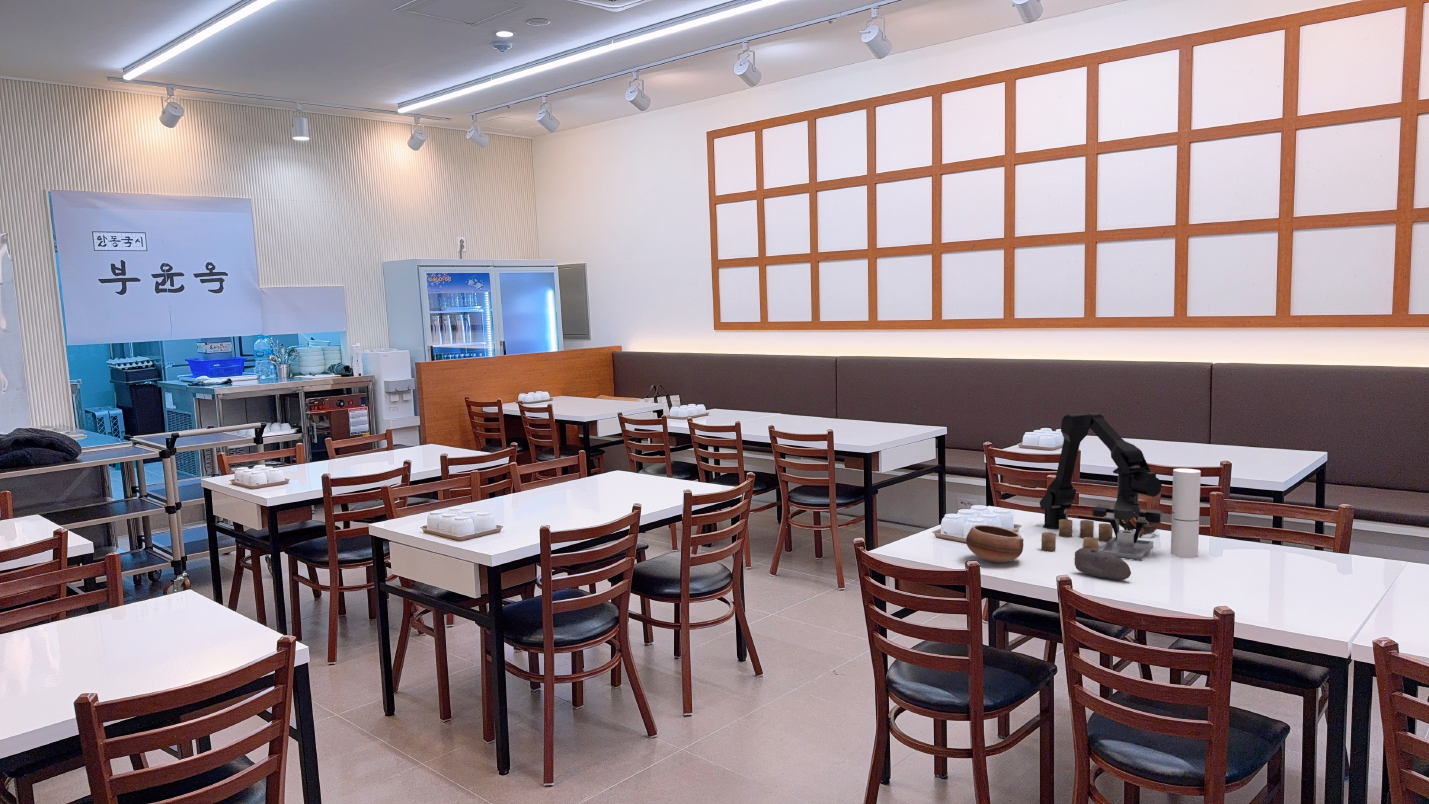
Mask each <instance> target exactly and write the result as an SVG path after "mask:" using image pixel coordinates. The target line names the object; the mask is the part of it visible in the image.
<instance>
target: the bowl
mask: <svg viewBox="0 0 1429 804" xmlns="http://www.w3.org/2000/svg"><path fill="white" fill-rule="evenodd" d="M965 540H966V541H965V543H966V547H967V548H968V549H969V551H970V552H971V553H973V554H974V555H976V557H979V558H981V559H983V560H985V561H987V562H990V563H996V562H999V563H998V564H1000V562H1002V563H1006V562H1007V563H1008V562H1011V561H1014V560H1016V559H1017V558H1019V557H1020V556H1021V555H1022V554H1023V551H1024V538H1023V537H1022V536H1021V534H1019V533H1018V532H1015V531H1014V530H1011V529H1009V528H1006V527H1005V528H1004V527H1002V526H996V525H995V526H994V525H987V524H976V525H973V526H972V527H971V528H970V529H969V531H968V532H967V535H966V538H965Z"/></svg>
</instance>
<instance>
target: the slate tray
mask: <svg viewBox="0 0 1429 804" xmlns="http://www.w3.org/2000/svg"><path fill="white" fill-rule="evenodd" d="M1154 543H1155V542H1154V541H1152V540H1144V539H1143V540H1142V539H1138V540H1137V542H1136V545H1135V546H1134V548H1130V547H1121V546H1117V539H1116V536H1112V538H1111V539H1110V540H1109V541H1108V542H1105V544H1104V545H1103V546H1102V547H1101V548H1100V549H1098V551H1099V552H1104V553H1107V554H1110V555H1113V556H1116V557H1118V558H1120V559H1121V558H1125V559H1124V560H1129V559H1133V560H1132V561H1137V560H1138V561H1139V562H1142V561H1143V560H1144V559H1145V557H1146V556H1147V555H1148V554H1149V553H1150V551H1151V550H1152V549H1153V547H1154ZM1151 548H1152V549H1151ZM1150 549H1151V550H1150ZM1147 553H1148V554H1147ZM1143 558H1144V559H1143ZM1142 559H1143V560H1142Z"/></svg>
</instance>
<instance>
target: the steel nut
mask: <svg viewBox="0 0 1429 804" xmlns="http://www.w3.org/2000/svg"><path fill="white" fill-rule="evenodd" d="M1134 537H1135V530H1130V531H1127V530H1124V529H1119V532H1118V533H1117V546H1121V547H1130V548H1134V546H1135V545H1136V543H1134Z"/></svg>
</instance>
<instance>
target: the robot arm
mask: <svg viewBox="0 0 1429 804" xmlns="http://www.w3.org/2000/svg"><path fill="white" fill-rule="evenodd" d="M1090 430H1091V431H1092V432H1093V433H1094V434H1095V435H1096V437H1097V438H1099V440H1100V441H1101V442H1102V443H1103V444H1104V445H1105V446H1106V448H1108V450H1109V451H1110V458H1111V459H1112V461H1113V463H1114V464H1115V466H1116V468H1115V469H1114V470H1112V473H1113V474H1116V475H1117V494H1116V500H1115V503H1114V507H1113V508H1111V506H1110V505H1109V504H1099V503H1098V504H1097V505H1095V506H1093V508H1092V512H1091V513H1092V515H1091V516H1092V517H1094V518H1095V517H1097V518H1104V521H1107V522H1109V524H1111V525H1112V528H1113V533H1114V537H1116V539H1117V533H1118V532H1119V531H1120V525H1119V519H1126V520H1131V519H1132V517H1137V518H1138V521H1137V522H1136V529H1134V531H1135V537H1134V543H1136V542H1137V540H1139V538H1140V537H1139V535H1140V532H1141V530H1142V528H1143V526H1144V525H1148V524H1149V523H1152V524H1154V523H1157V524H1161V522H1162V521H1163V520H1164V512H1163V510H1160V509H1147V511H1141V504H1140V503H1139V495H1144V496H1148V497H1154V498H1155V497H1156V496H1158V495H1159V494H1160V493H1161V492H1162V487H1163V485H1162V481H1161V480H1160V479H1159V478H1158V477H1157V473H1156V472H1151V468H1150V466H1149V464H1148V462H1147V460H1146V459H1145V458H1146V457H1145V456H1144V453H1143V451H1142V450H1141V449H1140V448H1139V447H1137V446H1136V445H1135V444H1133V443H1131V442H1128V441H1126V440H1125V439H1124V438H1122V437H1121V435H1120V434H1119V433H1118V432H1117V431H1116V430H1115V429H1114V428H1113V427H1112V426H1111V425H1110V423H1108V422H1107V420H1106V419H1105V417H1104V415H1103V414H1101V413H1096V412H1095V413H1087V414H1085V413H1078V414H1077V413H1075V414H1066V415H1064V416H1063V417H1062V419H1061V425H1060V432H1061V435H1062V437H1063V443H1062V447H1061V452H1060V456H1059V460H1058V464H1057V465H1058V466H1057V470H1056V474H1055V478H1054V480H1053V481H1051V482H1050V484H1049V485H1048V487H1047V488H1046V489H1047V490H1046V493H1045V494H1044V496H1042V498H1041V499H1040V501H1039V507H1040V509H1042V510H1044V524H1043V525H1042V528H1046V529H1048V528H1049V529H1056V530H1059V520H1060V519H1069V514H1068V513H1067V510H1070V509H1071V508H1072V505H1073V501H1075V499H1076V493H1077V489H1076V488H1074V485H1073V483H1072V479H1073V475H1074V470H1075V467H1076V462H1077V457H1078V454H1079V450H1080V449H1079V448H1080V445H1081V442H1082V441H1083V440H1084V439H1085V438H1086V437H1087V435H1088V434H1089V431H1090Z"/></svg>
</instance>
